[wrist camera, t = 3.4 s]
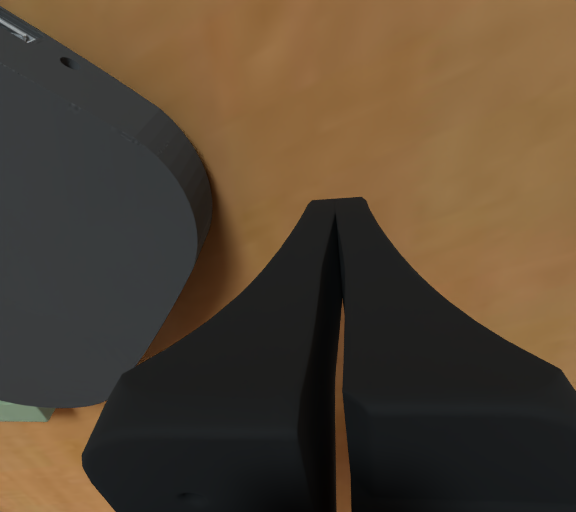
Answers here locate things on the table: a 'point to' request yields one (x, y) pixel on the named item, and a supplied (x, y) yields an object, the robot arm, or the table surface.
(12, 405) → the sage u-shaped rail
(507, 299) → the table surface
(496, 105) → the table surface
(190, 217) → the media streaming box
